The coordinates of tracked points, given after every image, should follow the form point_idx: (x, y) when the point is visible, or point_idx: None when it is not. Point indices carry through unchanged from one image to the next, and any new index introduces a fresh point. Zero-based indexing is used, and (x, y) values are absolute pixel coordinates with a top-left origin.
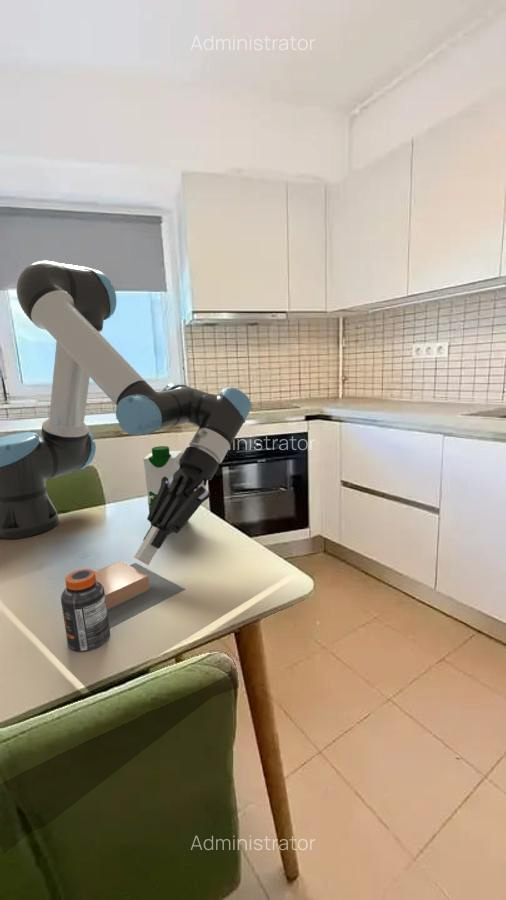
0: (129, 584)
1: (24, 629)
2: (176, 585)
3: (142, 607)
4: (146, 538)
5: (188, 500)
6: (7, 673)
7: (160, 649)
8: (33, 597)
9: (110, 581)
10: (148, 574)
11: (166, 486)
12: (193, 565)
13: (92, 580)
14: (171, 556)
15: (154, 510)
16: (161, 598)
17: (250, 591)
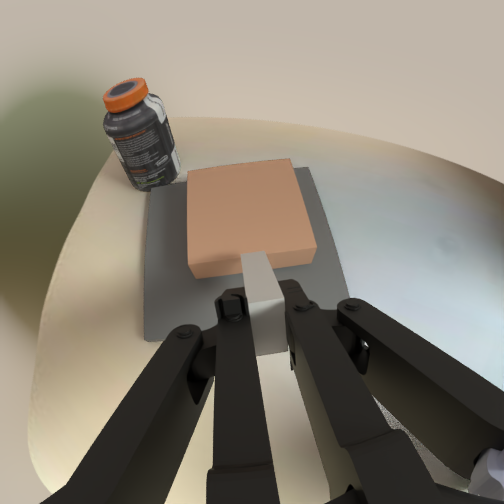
0: (187, 220)
1: (253, 130)
2: None
3: (155, 245)
4: (267, 275)
5: (106, 459)
6: (183, 117)
7: (75, 232)
8: (335, 150)
9: (230, 197)
10: None
11: (490, 439)
12: None
13: (105, 104)
14: None
15: (365, 328)
16: (152, 284)
17: (71, 426)
